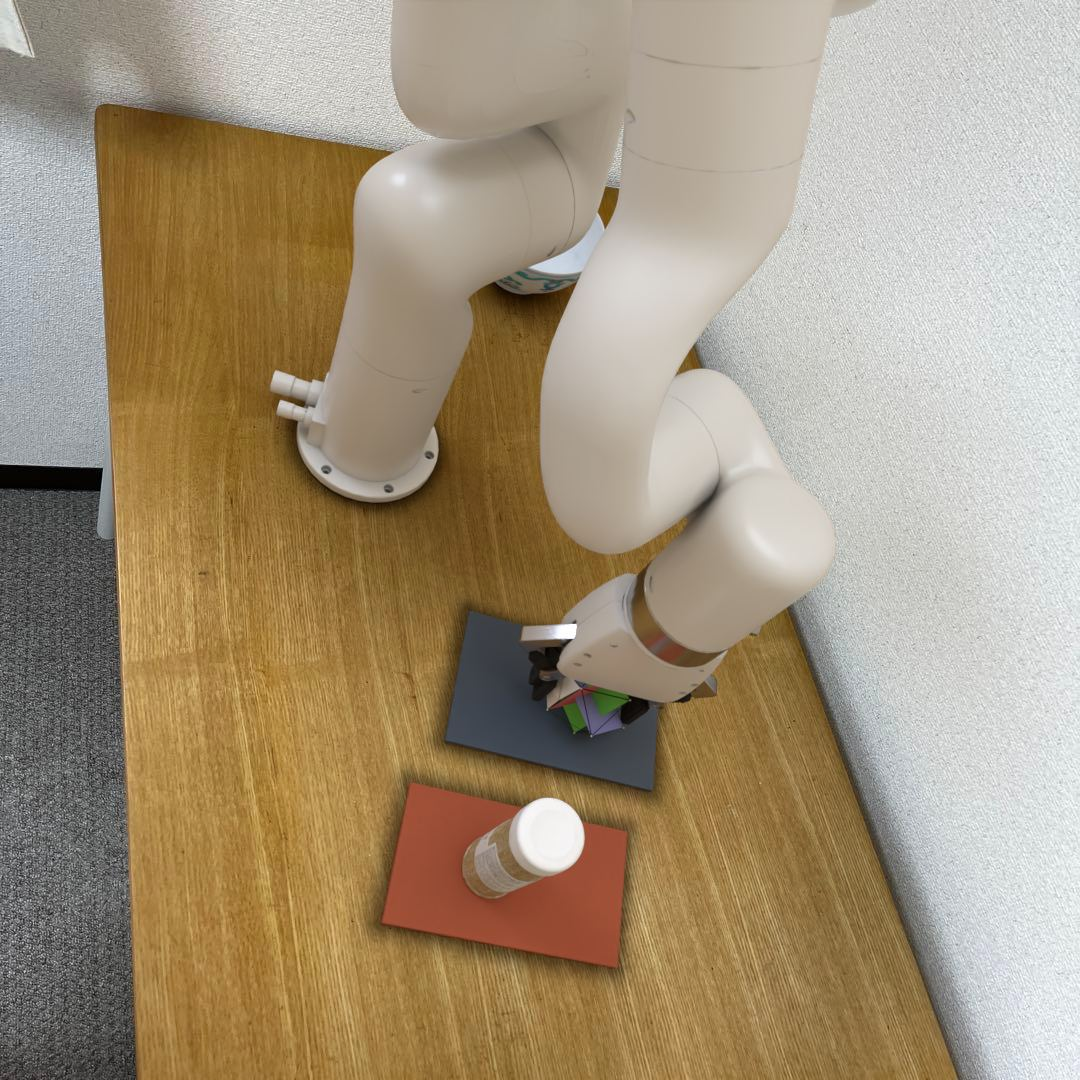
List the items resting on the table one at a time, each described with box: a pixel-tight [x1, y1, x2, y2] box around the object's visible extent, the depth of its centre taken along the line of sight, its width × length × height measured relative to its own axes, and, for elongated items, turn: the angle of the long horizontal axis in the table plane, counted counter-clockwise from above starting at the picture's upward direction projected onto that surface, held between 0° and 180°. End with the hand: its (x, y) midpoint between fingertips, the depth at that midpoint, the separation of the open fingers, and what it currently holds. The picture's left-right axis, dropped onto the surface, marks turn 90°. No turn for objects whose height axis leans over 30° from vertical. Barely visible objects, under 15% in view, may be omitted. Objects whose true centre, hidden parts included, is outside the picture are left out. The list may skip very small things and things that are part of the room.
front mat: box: [380, 782, 628, 969], centre depth 67 cm, size 18×10×1 cm, turn 82°
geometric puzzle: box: [547, 677, 631, 737], centre depth 73 cm, size 7×7×8 cm
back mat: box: [443, 610, 659, 793], centre depth 75 cm, size 18×12×1 cm, turn 82°
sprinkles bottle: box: [462, 797, 585, 899], centre depth 61 cm, size 5×5×14 cm
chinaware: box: [494, 211, 606, 295], centre depth 95 cm, size 15×15×8 cm
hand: (582, 694), depth 74 cm, fingers closed on geometric puzzle, 7 cm apart
